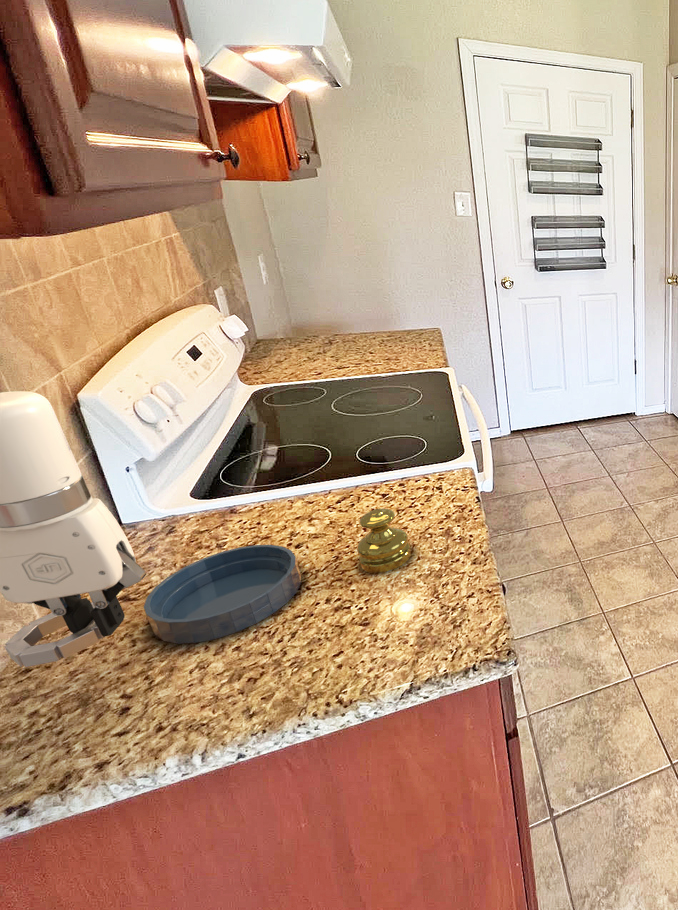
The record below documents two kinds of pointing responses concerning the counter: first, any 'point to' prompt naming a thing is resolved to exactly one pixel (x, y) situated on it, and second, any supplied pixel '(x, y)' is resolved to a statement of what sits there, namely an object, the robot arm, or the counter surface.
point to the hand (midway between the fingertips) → (101, 629)
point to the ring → (29, 635)
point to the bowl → (222, 593)
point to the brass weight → (382, 543)
